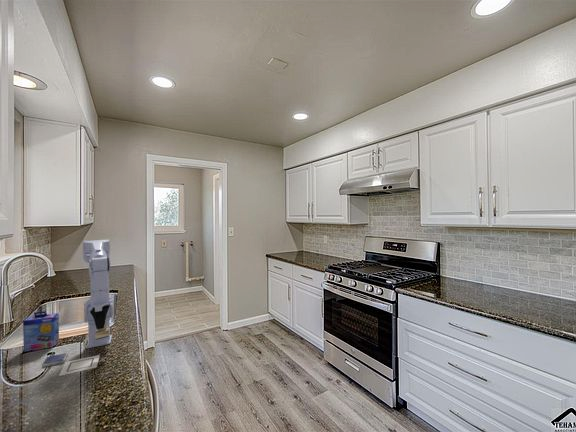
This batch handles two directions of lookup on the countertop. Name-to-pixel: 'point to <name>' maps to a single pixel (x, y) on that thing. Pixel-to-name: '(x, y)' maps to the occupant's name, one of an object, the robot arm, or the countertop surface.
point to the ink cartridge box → (40, 331)
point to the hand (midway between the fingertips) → (100, 327)
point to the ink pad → (55, 360)
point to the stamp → (102, 332)
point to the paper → (80, 365)
